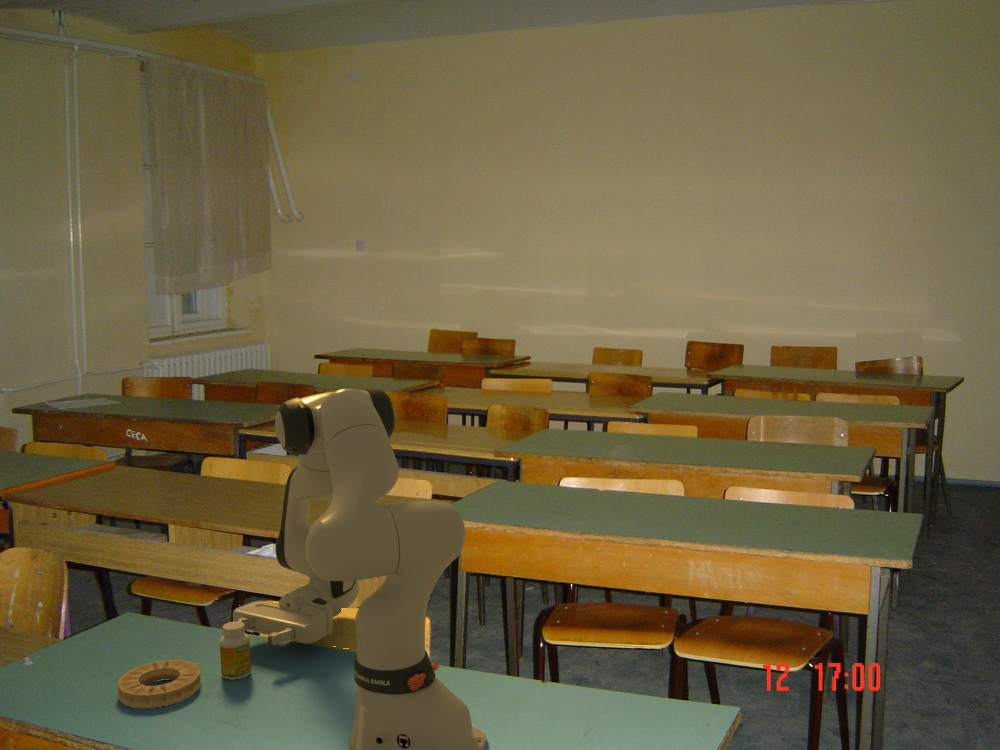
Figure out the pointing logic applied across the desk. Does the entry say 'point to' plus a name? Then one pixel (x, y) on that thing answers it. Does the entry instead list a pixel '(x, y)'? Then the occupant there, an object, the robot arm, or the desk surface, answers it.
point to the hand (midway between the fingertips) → (252, 636)
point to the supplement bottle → (235, 651)
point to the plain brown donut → (162, 695)
